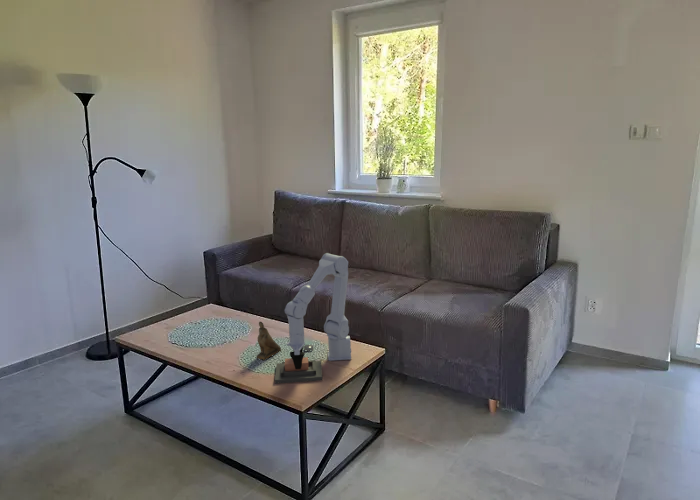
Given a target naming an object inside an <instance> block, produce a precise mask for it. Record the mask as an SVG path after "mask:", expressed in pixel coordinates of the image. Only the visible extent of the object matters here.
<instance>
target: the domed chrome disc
mask: <svg viewBox="0 0 700 500" xmlns="http://www.w3.org/2000/svg"><path fill="white" fill-rule="evenodd" d="M303 349H304V351H305V350H307V351H306V352H311V351H310V350H312V351H314V345H313V344H305V345H304V347H303Z"/></svg>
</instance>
